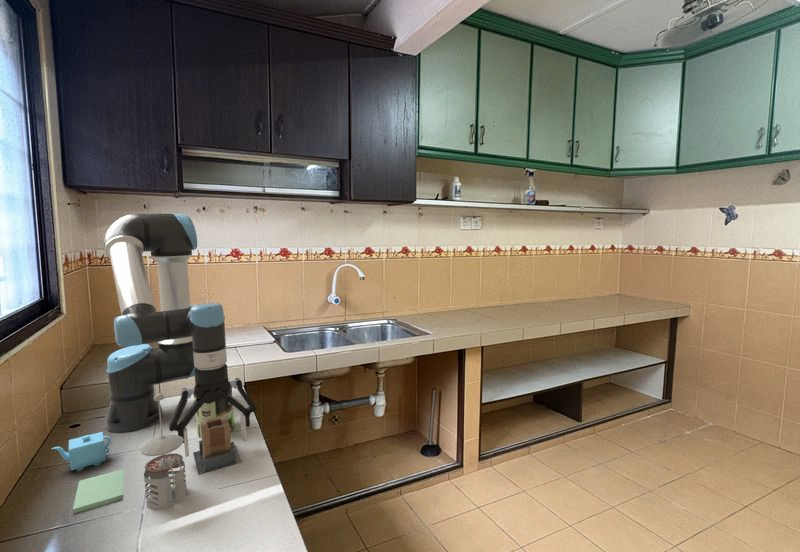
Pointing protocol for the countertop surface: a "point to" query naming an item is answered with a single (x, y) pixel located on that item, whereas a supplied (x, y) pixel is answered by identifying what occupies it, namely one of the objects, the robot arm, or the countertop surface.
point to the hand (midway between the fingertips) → (216, 446)
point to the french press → (164, 468)
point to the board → (99, 490)
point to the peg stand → (216, 459)
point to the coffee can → (215, 412)
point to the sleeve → (215, 436)
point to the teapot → (85, 451)
